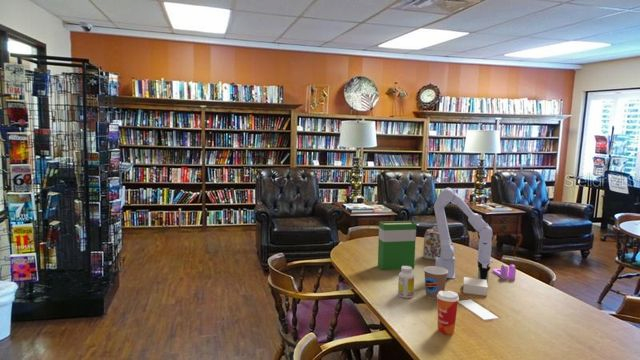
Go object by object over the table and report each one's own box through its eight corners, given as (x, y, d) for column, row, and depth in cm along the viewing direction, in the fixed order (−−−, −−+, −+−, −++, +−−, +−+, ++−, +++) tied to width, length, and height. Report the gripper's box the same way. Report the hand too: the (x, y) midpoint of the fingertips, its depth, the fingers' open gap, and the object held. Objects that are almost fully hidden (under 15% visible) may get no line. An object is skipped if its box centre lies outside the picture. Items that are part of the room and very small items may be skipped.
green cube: (477, 281, 202) (478, 271, 202) (477, 278, 206) (478, 268, 206) (487, 282, 201) (488, 272, 200) (487, 279, 205) (488, 270, 204)
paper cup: (431, 326, 155) (433, 289, 153) (452, 325, 155) (454, 289, 154) (439, 336, 147) (441, 298, 145) (460, 336, 147) (463, 298, 146)
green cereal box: (408, 264, 227) (410, 220, 225) (414, 268, 220) (416, 223, 217) (377, 265, 224) (379, 221, 221) (382, 270, 217) (384, 224, 214)
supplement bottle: (414, 294, 185) (415, 266, 184) (412, 299, 179) (413, 270, 177) (399, 291, 187) (400, 264, 186) (396, 297, 181) (398, 268, 180)
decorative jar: (443, 262, 232) (444, 230, 230) (422, 258, 238) (424, 227, 236) (448, 256, 242) (450, 226, 240) (428, 253, 248) (430, 223, 246)
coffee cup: (417, 295, 184) (418, 269, 182) (431, 290, 190) (432, 264, 189) (437, 303, 176) (439, 275, 174) (451, 297, 182) (453, 270, 181)
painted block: (463, 292, 188) (463, 284, 187) (463, 285, 197) (463, 277, 197) (487, 296, 184) (487, 287, 184) (486, 288, 194) (486, 279, 193)
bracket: (514, 279, 207) (516, 266, 206) (504, 280, 206) (505, 266, 205) (500, 270, 219) (501, 258, 219) (490, 271, 219) (491, 258, 218)
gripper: (494, 255, 194) (492, 284, 195) (492, 247, 207) (490, 274, 209) (478, 254, 196) (476, 282, 198) (477, 246, 210) (475, 272, 211)
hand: (482, 277), depth 203 cm, fingers closed on green cube, 4 cm apart
